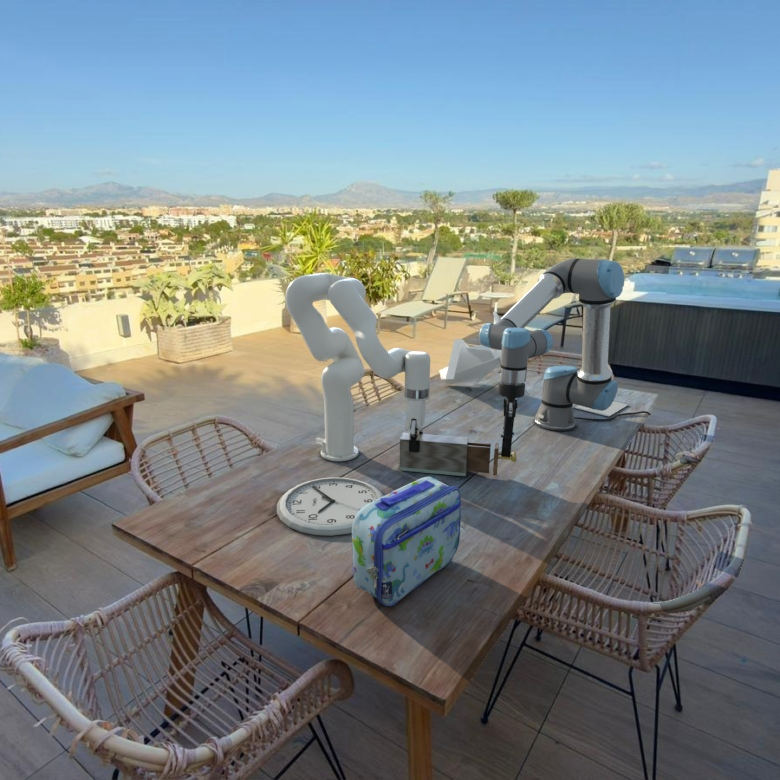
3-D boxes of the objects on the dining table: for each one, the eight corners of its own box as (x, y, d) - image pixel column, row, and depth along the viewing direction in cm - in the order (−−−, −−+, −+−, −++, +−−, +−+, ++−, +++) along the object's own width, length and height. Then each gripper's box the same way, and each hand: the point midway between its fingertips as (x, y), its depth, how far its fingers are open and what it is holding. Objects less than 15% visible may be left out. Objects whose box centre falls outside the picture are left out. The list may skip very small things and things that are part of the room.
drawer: (514, 470, 162) (516, 444, 159) (515, 477, 157) (517, 450, 155) (434, 463, 166) (435, 437, 164) (432, 469, 162) (433, 443, 159)
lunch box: (381, 619, 101) (382, 525, 95) (345, 592, 109) (344, 503, 102) (464, 563, 119) (469, 480, 113) (428, 543, 126) (432, 464, 120)
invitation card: (608, 416, 214) (573, 407, 224) (608, 416, 214) (573, 408, 224) (628, 404, 229) (594, 396, 238) (628, 405, 229) (594, 397, 238)
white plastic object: (461, 429, 252) (437, 405, 227) (444, 352, 274) (420, 323, 250) (535, 404, 240) (518, 377, 215) (510, 326, 262) (492, 293, 237)
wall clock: (392, 527, 129) (268, 531, 127) (391, 533, 130) (269, 537, 127) (383, 473, 158) (282, 475, 155) (383, 478, 158) (282, 480, 156)
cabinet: (467, 468, 165) (468, 437, 162) (465, 476, 160) (467, 444, 157) (402, 462, 169) (403, 432, 166) (399, 470, 164) (399, 439, 161)
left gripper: (409, 383, 167) (408, 436, 172) (399, 400, 151) (398, 457, 156) (432, 385, 166) (431, 438, 171) (425, 402, 149) (423, 459, 155)
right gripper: (499, 374, 158) (493, 446, 165) (498, 387, 146) (492, 464, 153) (524, 376, 157) (517, 448, 164) (526, 389, 145) (519, 466, 152)
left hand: (415, 446), depth 163 cm, fingers closed on cabinet, 6 cm apart
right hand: (505, 456), depth 159 cm, fingers closed
